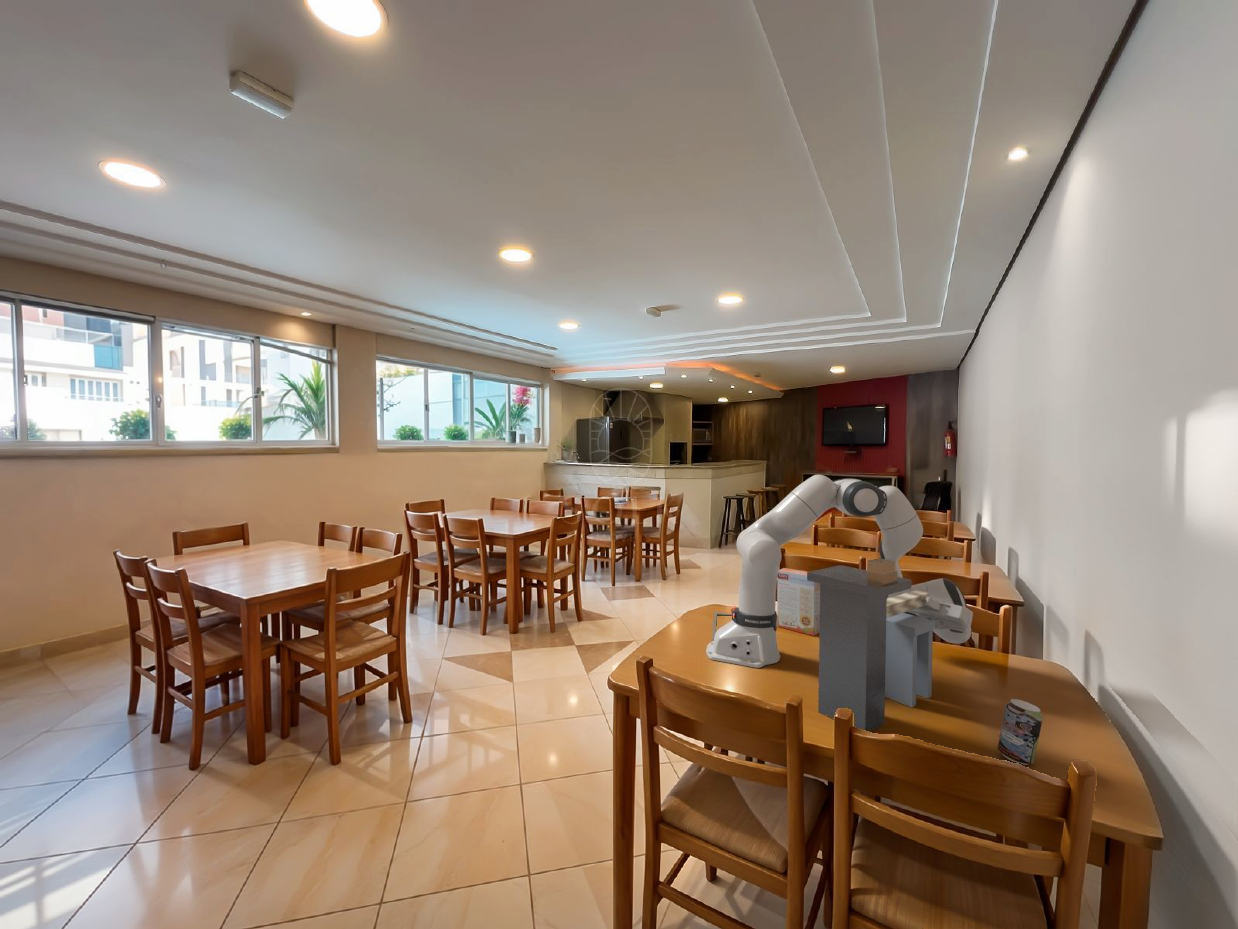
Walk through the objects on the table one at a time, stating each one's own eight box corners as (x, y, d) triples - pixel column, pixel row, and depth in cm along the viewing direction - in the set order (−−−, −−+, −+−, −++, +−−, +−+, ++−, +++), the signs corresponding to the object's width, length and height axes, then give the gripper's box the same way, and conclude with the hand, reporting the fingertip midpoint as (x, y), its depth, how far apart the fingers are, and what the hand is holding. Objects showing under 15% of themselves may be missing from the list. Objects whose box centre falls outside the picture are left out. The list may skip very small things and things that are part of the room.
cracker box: (821, 632, 181) (822, 573, 180) (813, 637, 176) (814, 576, 176) (784, 622, 191) (785, 566, 190) (776, 626, 186) (777, 569, 186)
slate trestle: (887, 680, 143) (888, 609, 143) (933, 697, 133) (935, 621, 133) (867, 689, 138) (868, 615, 137) (913, 708, 128) (915, 628, 127)
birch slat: (915, 600, 142) (916, 589, 142) (929, 603, 140) (929, 592, 139) (872, 614, 130) (872, 603, 130) (885, 618, 127) (885, 606, 127)
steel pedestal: (838, 693, 135) (840, 546, 134) (908, 723, 121) (911, 558, 119) (805, 708, 128) (807, 551, 126) (875, 742, 113) (878, 565, 112)
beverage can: (990, 752, 109) (991, 696, 109) (1022, 750, 110) (1023, 695, 110) (1015, 770, 103) (1016, 711, 103) (1049, 768, 104) (1051, 710, 103)
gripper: (902, 595, 155) (881, 578, 148) (979, 613, 138) (959, 595, 131) (896, 615, 154) (875, 599, 147) (974, 636, 137) (953, 618, 130)
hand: (915, 597), depth 139 cm, fingers closed on birch slat, 3 cm apart
